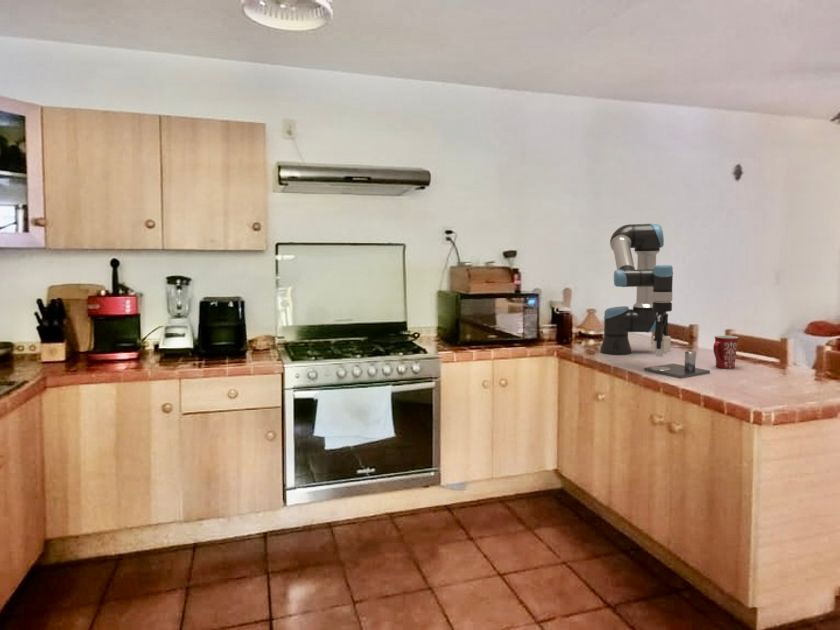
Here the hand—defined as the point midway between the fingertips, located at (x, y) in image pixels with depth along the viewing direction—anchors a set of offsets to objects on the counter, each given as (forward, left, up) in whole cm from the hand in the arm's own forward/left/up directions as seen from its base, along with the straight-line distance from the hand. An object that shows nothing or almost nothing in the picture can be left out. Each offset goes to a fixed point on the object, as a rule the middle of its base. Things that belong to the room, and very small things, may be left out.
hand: (661, 354), depth 236 cm
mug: (+8, +29, -8) cm, 31 cm away
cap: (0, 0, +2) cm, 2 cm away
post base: (+4, +5, -7) cm, 10 cm away
